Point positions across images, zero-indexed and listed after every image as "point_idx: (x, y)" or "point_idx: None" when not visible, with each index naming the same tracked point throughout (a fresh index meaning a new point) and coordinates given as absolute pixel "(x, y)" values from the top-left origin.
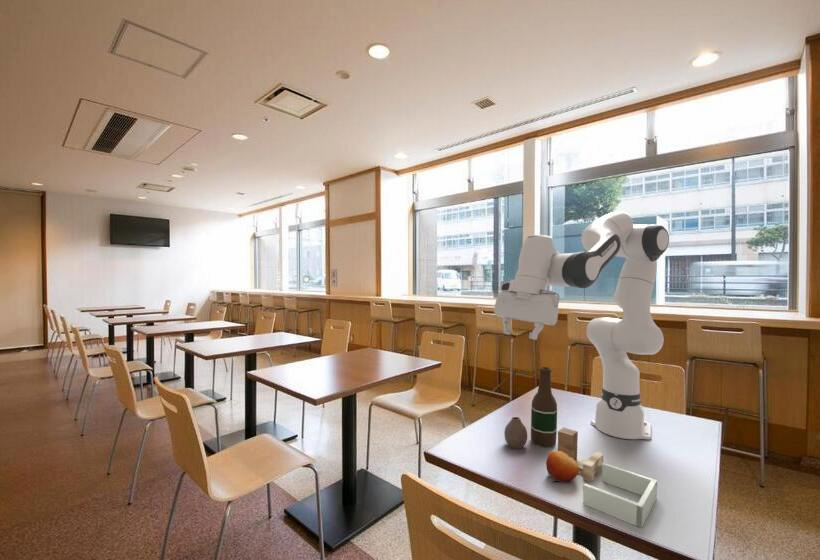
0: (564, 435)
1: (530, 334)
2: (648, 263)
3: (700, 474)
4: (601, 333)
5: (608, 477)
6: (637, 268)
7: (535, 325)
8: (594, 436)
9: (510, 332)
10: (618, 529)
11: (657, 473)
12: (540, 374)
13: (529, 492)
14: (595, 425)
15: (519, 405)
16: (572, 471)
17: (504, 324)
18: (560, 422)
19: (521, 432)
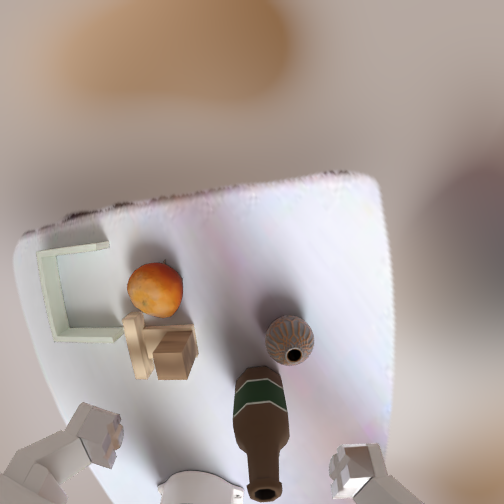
0: (169, 350)
1: (98, 426)
2: None
3: None
4: None
5: (111, 330)
6: None
7: (36, 467)
8: (213, 457)
9: (331, 471)
10: (63, 222)
11: (98, 402)
12: (274, 474)
13: (173, 202)
14: (231, 485)
15: None
16: (129, 278)
17: (393, 490)
18: (282, 465)
19: (270, 337)
